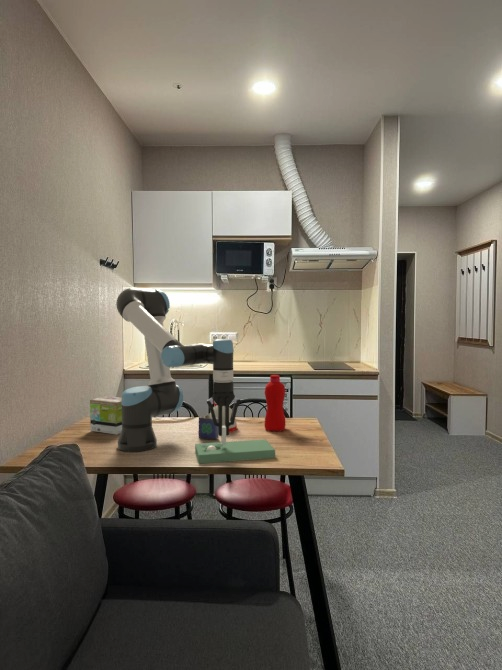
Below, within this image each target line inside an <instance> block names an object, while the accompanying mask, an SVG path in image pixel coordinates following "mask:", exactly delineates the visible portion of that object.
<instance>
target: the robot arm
mask: <svg viewBox="0 0 502 670" xmlns="http://www.w3.org/2000/svg"><path fill="white" fill-rule="evenodd" d="M115 305H116V310H117V312H118V314H119V315H120V317H122V319H124V321H126V322H129V323H131V324H132V325H133V326H134V327H135V328H136V329H137V330H138V331H139V332H140V333H141V334H142V335H143V336H144V344H145V351H146V357H147V365H148V370H149V378H150V381H149V382H148V384H147V385H140V386H133V387H129V388H127V389H125V390H124V391H123V392H122V393H121V398H122V401H121V404H122V430H121V433H120V434H119V437H118V441H117V450H119V451H122V452H129V453H134V452H135V453H136V452H144V451H148V450H152V449H154V448H156V447H157V445H158V443H157V441H158V440H157V436H156V434H155V431H154V428H153V418H156V417H160V416H164V415H165V416H166V415H171V414H172V413H173V414H174V413H176V412H178V411H179V410H180V409H181V407H182V406H183V402H184V393H183V390H182V388H181V387H180V386H179V385H177V384H176V380H175V379H174V378H172V375H171V368H179V367H184V366H186V367H187V366H194V365H195V366H196V365H201V364H207V365H212V367H213V368H212V380H213V384H212V385H213V387H212V388H213V389H212V394H211V397H210V398H209V399H206V400H205V403H206V405H208V408H209V411H210V412H211V416H212V420H213V423H214V425H215V426H218V436H220V437H221V439H220V442H221V443H222V445H226V442H227V436H229V434H230V432H229V426H230V425H233V424H234V421H235V419H236V415H237V412H238V411H237V410H238V408H239V405H240V403H241V399H240V398H237V397H236V395H235V392H234V381H233V380H234V353H235V352H234V351H235V350H234V344H233V340H232V339H228V338H225V339H224V338H223V339H222V338H219V339H217V338H216V339H214V340H213V341H212V344H209V343H202V342H199V343H197V342H196V343H193V344H182V343H181V342H180V340H178V339H177V338H176V337H175V336H174V335H173V334H172V333H170V331H168V330H167V329H166V328H165V326H164V321H165V320H166V318H167V316H166V315H167V314H168V313H169V311H170V310H169V309H170V299H169V297H168V295H167V294H166V293H165V292H164V291H163V290H160V289H156V288H142V287H141V288H139V287H138V288H137V287H129V288H126V289H124V290H122V291H121V292H120V293H119V294H118V297H117V298H116V304H115ZM213 401H214V403H215V404H217V405H218V422H217V420H216V417H215V413H214V409H213V408H214V406H213V405H214V403H213ZM232 402H233V407H232V408H231V410H232V414H231V418H230V421H229V407H230V405H231V404H232ZM222 406H225V426H222Z"/></svg>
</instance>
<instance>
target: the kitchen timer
mask: <svg viewBox="0 0 502 670" xmlns="http://www.w3.org/2000/svg"><path fill="white" fill-rule="evenodd" d="M213 405H214V406H213V409H214V413H215V417H216V418H218V405H217V404H216V403H215V401H214V400H213ZM209 414H210V415H209V416H210V418H212V416H211V412H210V413H209ZM231 414H232V408H231V407H230V406H229V421H230V418H231ZM222 426H225V406H222ZM237 426H238V424H237V419H236V418H235V421H234V424H233V425H230V426H229V433H230V432H234V431H237V429H238V427H237Z"/></svg>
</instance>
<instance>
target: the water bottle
mask: <svg viewBox="0 0 502 670" xmlns="http://www.w3.org/2000/svg"><path fill="white" fill-rule="evenodd" d="M269 379H270V380H269V382H268V383H267V384H266V385H265V387H264V396H265V402H266V411H265V417H264V429H265V430H266V431H267V432H283V431H284V430H285V429H286V415H285V411H284V401H285V396H286V387H285V385H284V383H282V382H281V380H280V379H281V376H280V375H278V374H271V375H270V378H269Z"/></svg>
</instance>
